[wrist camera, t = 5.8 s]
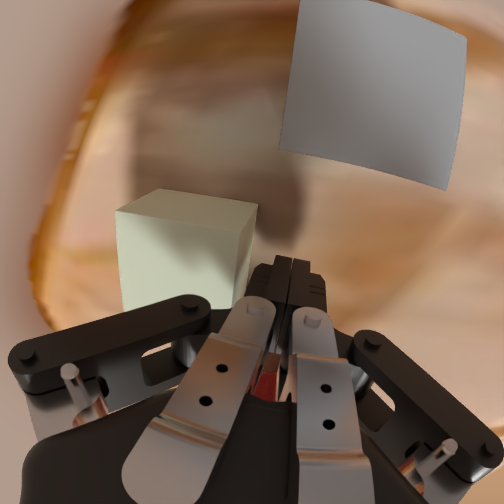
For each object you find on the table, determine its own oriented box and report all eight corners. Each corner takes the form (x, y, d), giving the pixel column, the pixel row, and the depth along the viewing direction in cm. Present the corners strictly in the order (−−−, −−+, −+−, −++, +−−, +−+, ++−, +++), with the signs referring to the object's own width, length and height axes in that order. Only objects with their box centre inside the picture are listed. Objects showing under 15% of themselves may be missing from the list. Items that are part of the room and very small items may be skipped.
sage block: (160, 187, 14) (115, 210, 10) (258, 202, 14) (240, 232, 10) (159, 274, 16) (124, 313, 13) (245, 293, 16) (227, 343, 12)
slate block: (305, 35, 10) (301, -13, 5) (415, 63, 9) (466, 37, 5) (289, 141, 12) (278, 149, 8) (399, 166, 11) (446, 191, 7)
